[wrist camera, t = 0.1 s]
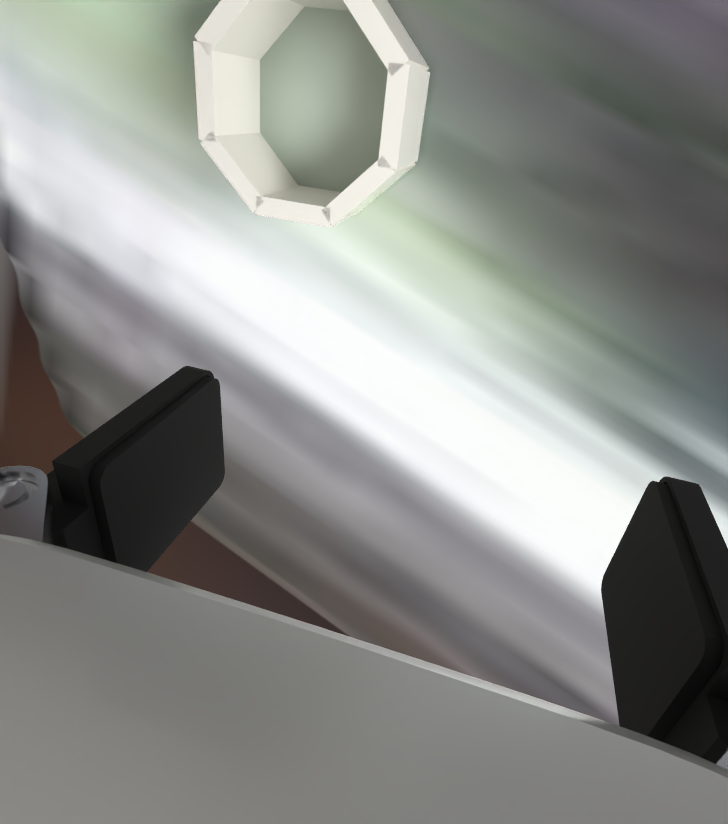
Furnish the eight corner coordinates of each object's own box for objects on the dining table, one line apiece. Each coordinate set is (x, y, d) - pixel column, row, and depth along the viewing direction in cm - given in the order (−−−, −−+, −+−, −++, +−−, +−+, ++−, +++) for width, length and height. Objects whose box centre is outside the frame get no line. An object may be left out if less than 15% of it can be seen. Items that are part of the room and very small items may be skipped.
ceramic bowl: (247, -21, 34) (188, -48, 28) (442, -4, 32) (421, -31, 26) (249, 192, 41) (202, 205, 35) (410, 219, 39) (388, 237, 33)
